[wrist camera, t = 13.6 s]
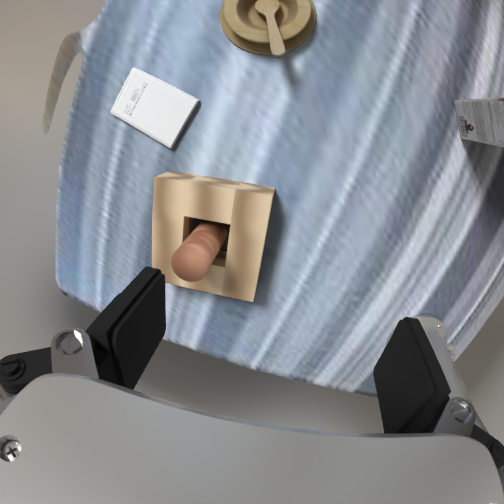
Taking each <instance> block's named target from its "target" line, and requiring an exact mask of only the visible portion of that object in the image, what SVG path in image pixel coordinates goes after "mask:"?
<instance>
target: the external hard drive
mask: <svg viewBox="0 0 504 504" xmlns="http://www.w3.org/2000/svg"><path fill="white" fill-rule="evenodd" d="M199 102H200V100H198V99H197V98H195V97H193V96H191V95H189V94H187V93H185V92H184V91H182V90H180V89H178V88H176V87H174V86H172V85H170V84H168V83H166V82H164V81H162V80H160V79H158V78H156V77H154V76H152V75H150V74H148V73H146V72H143V71H141V70H139V69H137V68H133V69H132V70H131V72H130V74H129V76H128V78H127V80H126V81H125V83H124V85H123V87H122V89H121V91H120V93H119V95H118V97H117V99H116V101H115V103H114V105H113V107H112V110H111V114H113V115H115V116H116V117H118V118H120V119H122V120H123V121H125V122H127V123H128V124H130V125H132V126H133V127H135V128H137V129H139V130H140V131H142V132H144V133H145V134H147V135H149V136H150V137H152V138H154V139H155V140H157V141H159V142H160V143H162V144H164V145H165V146H167V147H169V148H173V147H174V145H175V143H176V141H177V139H178V137H179V136H180V134H181V132H182V130H183V129H184V127H185V125H186V123H187V122H188V120H189V118H190V116H191V115H192V113H193V111H194V110H195V108H196V106H197V105H198V103H199Z"/></svg>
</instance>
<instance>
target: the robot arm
mask: <svg viewBox="0 0 504 504" xmlns="http://www.w3.org/2000/svg"><path fill="white" fill-rule="evenodd" d="M165 330H166V311H165V275H164V274H162V273H161V270H160V269H157V268H152V267H148V266H146V267H145V268H144V269H143V270H142V271H141V272H140V273H139V274H138V275H137V276H136V278H135V279H134V280H133V281H132V282H131V283H130V284H129V285H128V286H127V287H126V288H125V289H124V290H123V292H122V293H120V294H118V295H117V296H116V297H115V298H114V299H113V300H112V301H111V303H110V304H109V305H108V306H107V307H106V308H105V309H104V310H103V311H102V313H101V314H100V315H99V316H98V317H97V318H96V319H95V320H94V322H93V323H92V324H91V325H90V326H89V328H88V329H87V330H86V331H83V330H81V329H77V328H68V329H64V330H62V331H60V332H58V333H57V334H56V335H55V336H54V337H53V339H52V341H51V347H48V348H43V349H38V350H33V351H28V352H23V353H18V354H12V355H9V356H6V357H4V358H3V359H1V360H0V504H504V446H503V445H502V444H501V443H500V442H499V441H498V440H496V439H495V438H494V437H492V436H491V435H490V434H489V433H488V431H487V429H486V428H485V426H484V425H483V423H482V421H481V419H480V417H479V416H478V414H477V412H476V410H475V408H474V406H473V404H472V401H471V399H470V397H469V395H468V393H467V391H466V388H465V386H464V384H463V382H462V379H461V377H460V375H459V373H458V370H457V368H456V366H455V364H454V362H453V360H454V357H455V356H454V354H453V353H449V352H448V351H455V348H456V346H455V345H454V344H447V342H446V340H445V335H446V331H445V327H444V325H443V323H442V322H441V320H440V319H438V318H437V317H435V316H432V315H420V316H416V317H413V318H410V317H405V318H404V319H403V320H400V321H399V322H398V324H397V326H396V328H395V330H394V331H393V332H392V334H391V335H390V337H389V339H388V341H387V344H386V347H385V349H384V351H383V353H382V355H381V357H380V358H379V360H378V362H377V364H376V365H375V367H374V371H373V375H374V380H375V385H376V390H377V395H378V399H379V405H380V410H381V416H382V421H383V427H384V434H372V433H346V432H330V431H319V430H309V429H299V428H292V427H284V426H278V425H271V424H265V423H259V422H253V421H248V420H243V419H238V418H233V417H228V416H224V415H219V414H215V413H211V412H207V411H202V410H198V409H195V408H191V407H187V406H184V405H180V404H177V403H173V402H169V401H166V400H163V399H160V398H156V397H153V396H150V395H147V394H144V393H141V392H137V391H135V390H133V389H134V387H135V385H136V384H137V382H138V380H139V378H140V376H141V375H142V373H143V371H144V369H145V368H146V366H147V364H148V362H149V361H150V359H151V357H152V355H153V354H154V352H155V350H156V348H157V347H158V345H159V343H160V341H161V340H162V338H163V336H164V334H165Z"/></svg>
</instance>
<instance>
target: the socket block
mask: <svg viewBox="0 0 504 504" xmlns="http://www.w3.org/2000/svg"><path fill="white" fill-rule="evenodd" d="M274 192H275V188H272V187H266V186H261V185H255V184H250V183H244V182H238V181H232V180H226V179H220V178H213V177H207V176H200V175H193V174H186V173H179V172H171V171H168V172H166V173H163V174H161V175H159V176H156V177H154V193H153V218H152V268H157V269H160V270H161V273H162V274H164V275H165V283H169V284H173V285H178V286H182V287H186V288H190V289H195V290H199V291H203V292H208V293H212V294H217V295H221V296H226V297H231V298H235V299H240V300H245V301H250V302H253V300H254V296H255V292H256V288H257V284H258V278H259V273H260V268H261V262H262V257H263V252H264V246H265V241H266V236H267V230H268V225H269V219H270V214H271V208H272V203H273V197H274ZM194 218H198V219H204V220H209V221H215V222H220V223H225V224H230V232H229V240H228V247H227V252H224V251H219V252H218V254H217V255H216V257H215V259H214V261H213V262H212V264H211V266H210V268H209V269H208V271H207V273H206V275H205V276H204V277H203V278H202V279H201V280H199V281H197V282H187V281H184V280H182V279H181V278H179V277H178V276H177V275H176V274H175V273H174V271H173V269H172V266H171V258H172V255H173V253H174V252H175V251H176V250H177V249H178V248H179V247H180V245H181V244H182V243H183V242H184V241H185V240H186V239H187V237H188V236H189V235H190V234H191V233H192V232H193V228H194Z"/></svg>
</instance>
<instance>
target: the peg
mask: <svg viewBox="0 0 504 504" xmlns="http://www.w3.org/2000/svg"><path fill="white" fill-rule="evenodd" d="M228 233H229V229H228V225H227V224H225V223H220V222H215V221H209V220H203V221H202V222H201V223H200V224H199V225H198V226H197V227H196V229H195V230H194V231H193V232H192V233H191V234H190V235H189V236H188V237H187V239H186V240H185V241H184V242H183V243H182V244H181V245H180V247H179V248H178V249H177V250H176V251H175V252H174V253H173V255H172V258H171V266H172V269H173V271H174V273H175V274H176V275H177V276H178V277H179V278H181V279H182V280H184V281H187V282H197V281H199V280H201V279H202V278H203V277H204V276H205V275H206V273H207V271H208V269H209V268H210V266H211V264H212V262H213V261H214V259H215V257H216V255H217V254H218V252H219V250H220V248H221V247H222V245H223V243H224V241H225V240H226V238H227V236H228Z"/></svg>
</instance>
